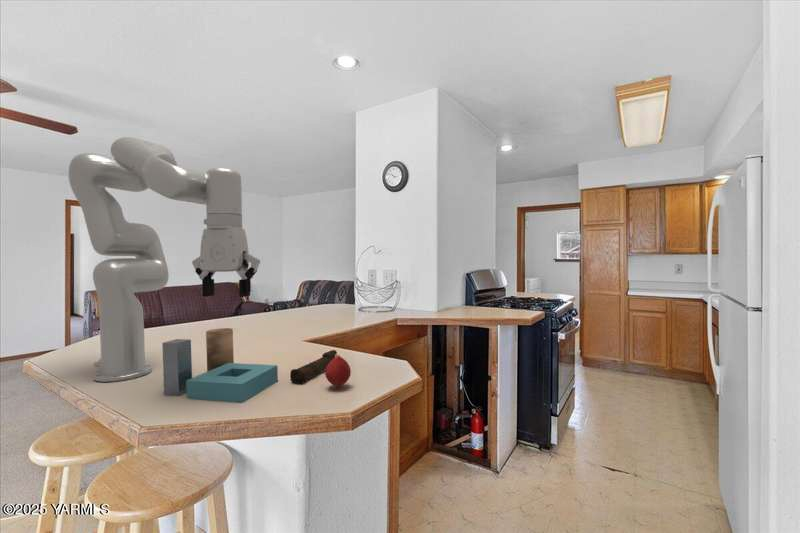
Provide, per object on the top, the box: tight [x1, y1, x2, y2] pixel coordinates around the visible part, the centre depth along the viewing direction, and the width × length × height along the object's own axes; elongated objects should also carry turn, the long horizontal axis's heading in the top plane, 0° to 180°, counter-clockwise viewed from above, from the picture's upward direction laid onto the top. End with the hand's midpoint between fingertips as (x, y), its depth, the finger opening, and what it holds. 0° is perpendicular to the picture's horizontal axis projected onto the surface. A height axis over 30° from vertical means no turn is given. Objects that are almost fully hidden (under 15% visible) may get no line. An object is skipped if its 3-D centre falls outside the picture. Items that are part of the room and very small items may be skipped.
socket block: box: [186, 362, 279, 403], centre depth 87 cm, size 14×14×4 cm
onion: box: [324, 353, 352, 389], centre depth 87 cm, size 6×6×8 cm
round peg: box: [205, 327, 235, 372], centre depth 98 cm, size 6×6×12 cm
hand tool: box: [289, 349, 338, 385], centre depth 99 cm, size 19×4×5 cm, turn 156°
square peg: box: [161, 338, 193, 397], centre depth 86 cm, size 4×4×12 cm
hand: (226, 296), depth 87 cm, fingers open, 9 cm apart
